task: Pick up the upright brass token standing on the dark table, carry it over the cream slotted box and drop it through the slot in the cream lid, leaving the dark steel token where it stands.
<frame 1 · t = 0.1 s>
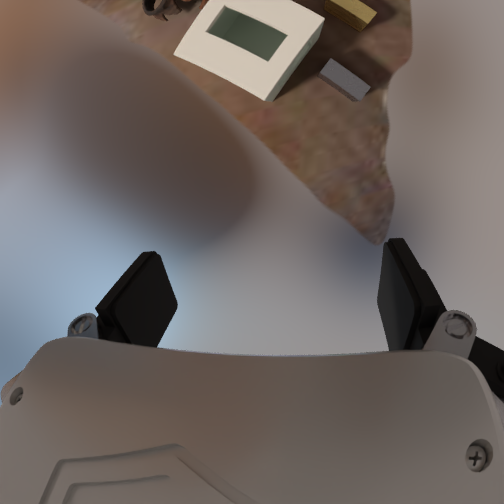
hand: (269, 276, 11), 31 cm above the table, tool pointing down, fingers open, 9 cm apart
dark steel token: (339, 82, 31), on the table
brass token: (346, 15, 25), on the table
cream slotted box: (258, 48, 30), on the table
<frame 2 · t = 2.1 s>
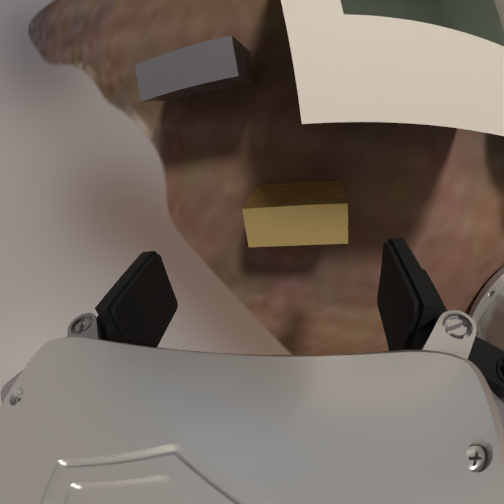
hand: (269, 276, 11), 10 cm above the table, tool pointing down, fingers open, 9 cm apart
dark steel token: (211, 75, 16), on the table
brass token: (299, 198, 20), on the table
cream slotted box: (378, 35, 13), on the table
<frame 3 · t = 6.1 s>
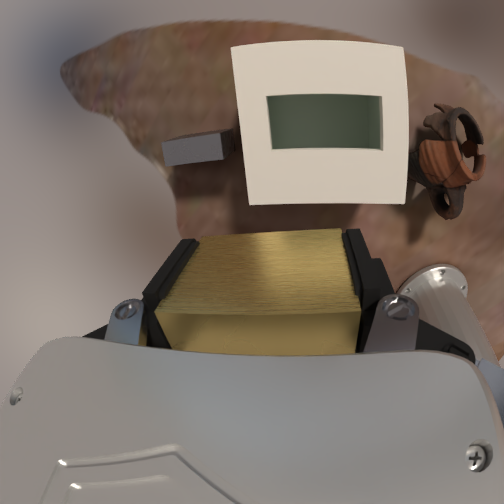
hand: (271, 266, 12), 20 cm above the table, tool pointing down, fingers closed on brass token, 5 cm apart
dark steel token: (207, 142, 29), on the table
brass token: (272, 257, 12), point 19 cm above the table, touching gripper
cream slotted box: (317, 116, 25), on the table
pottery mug: (431, 154, 25), on the table
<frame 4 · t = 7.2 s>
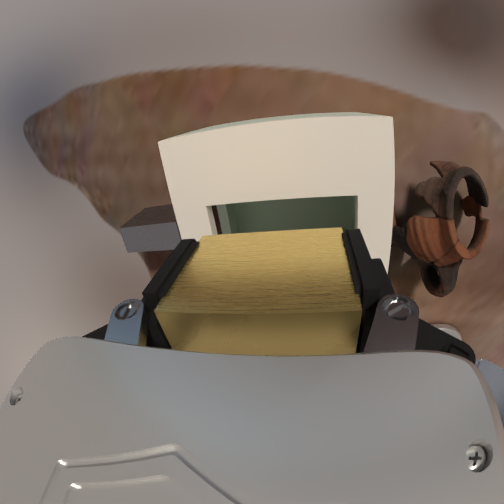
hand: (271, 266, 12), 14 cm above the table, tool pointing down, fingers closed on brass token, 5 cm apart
dark steel token: (172, 215, 27), on the table
brass token: (272, 256, 12), point 13 cm above the table, touching gripper
cream slotted box: (291, 184, 23), on the table
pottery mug: (425, 215, 23), on the table
when the fingers open (12 cm above the table, at t = 8.2 s): brass token drops 11 cm, resting on cream slotted box.
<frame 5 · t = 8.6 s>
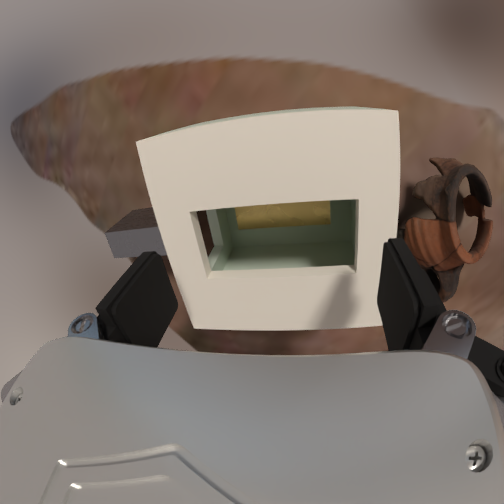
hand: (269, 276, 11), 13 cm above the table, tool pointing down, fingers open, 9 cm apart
dark steel token: (161, 218, 25), on the table
brass token: (285, 186, 21), point 1 cm above the table, touching cream slotted box
cream slotted box: (285, 184, 22), on the table
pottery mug: (424, 215, 21), on the table
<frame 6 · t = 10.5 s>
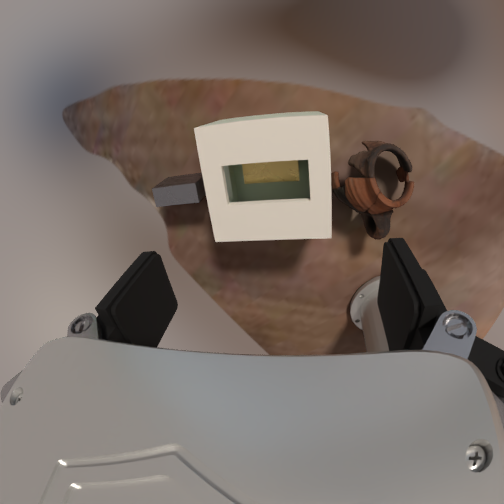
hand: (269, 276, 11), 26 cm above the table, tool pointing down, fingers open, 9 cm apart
dark steel token: (188, 183, 37), on the table
brass token: (274, 161, 33), point 1 cm above the table, touching cream slotted box
cream slotted box: (274, 160, 34), on the table
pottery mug: (367, 182, 33), on the table
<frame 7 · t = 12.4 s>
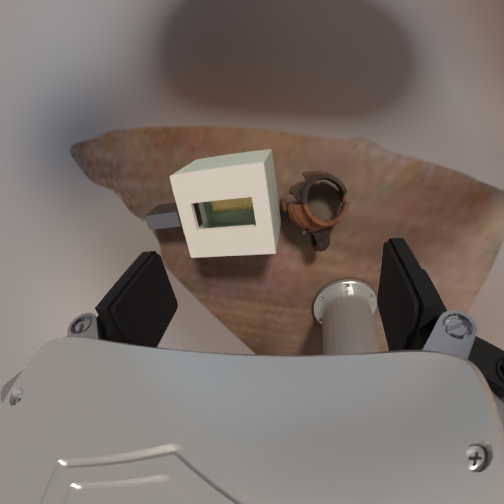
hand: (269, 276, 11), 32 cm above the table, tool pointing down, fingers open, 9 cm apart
dark steel token: (174, 209, 47), on the table
brass token: (238, 191, 43), point 1 cm above the table, touching cream slotted box
cream slotted box: (238, 190, 43), on the table
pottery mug: (313, 203, 43), on the table
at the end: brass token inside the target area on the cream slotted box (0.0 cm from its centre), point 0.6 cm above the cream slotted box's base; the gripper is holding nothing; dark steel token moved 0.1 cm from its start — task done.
